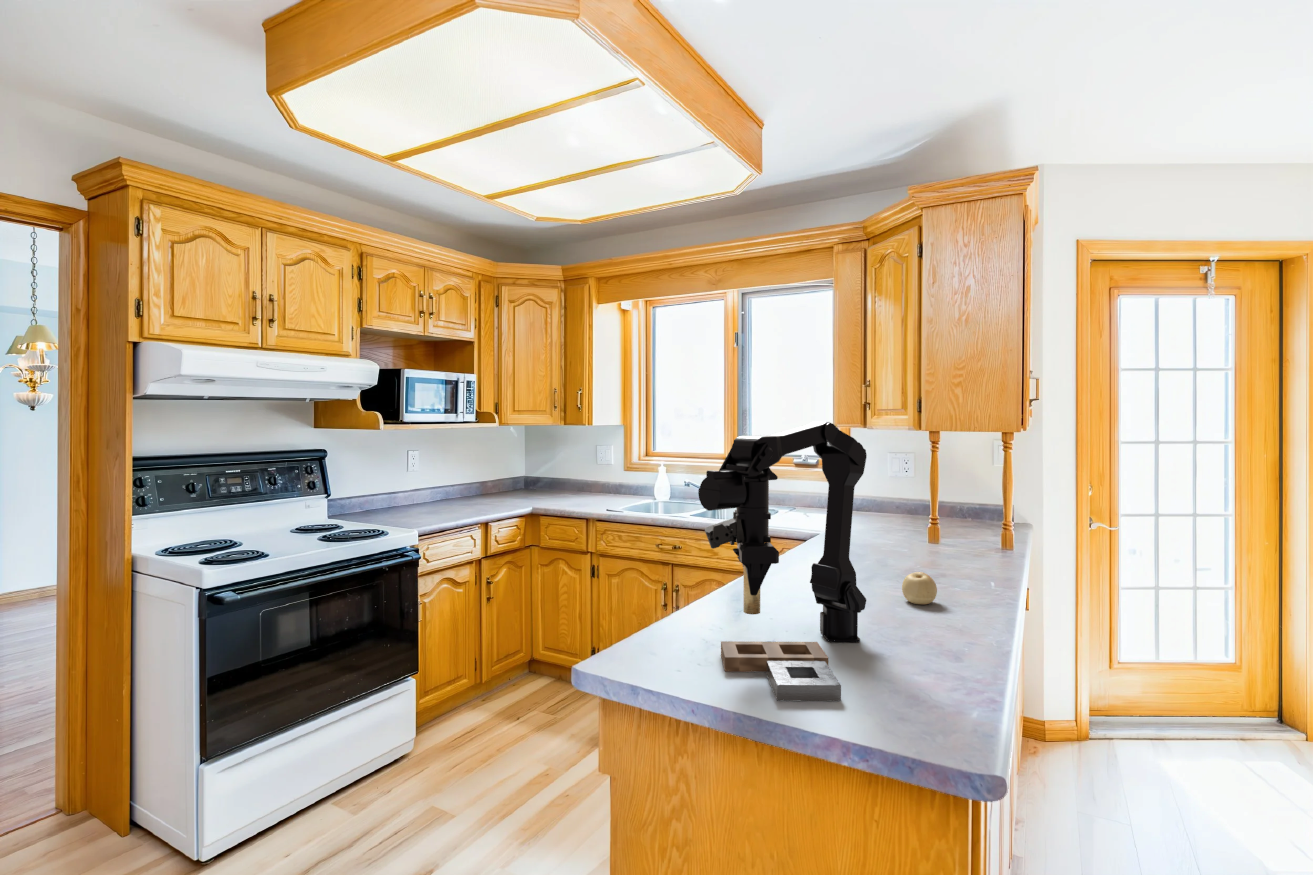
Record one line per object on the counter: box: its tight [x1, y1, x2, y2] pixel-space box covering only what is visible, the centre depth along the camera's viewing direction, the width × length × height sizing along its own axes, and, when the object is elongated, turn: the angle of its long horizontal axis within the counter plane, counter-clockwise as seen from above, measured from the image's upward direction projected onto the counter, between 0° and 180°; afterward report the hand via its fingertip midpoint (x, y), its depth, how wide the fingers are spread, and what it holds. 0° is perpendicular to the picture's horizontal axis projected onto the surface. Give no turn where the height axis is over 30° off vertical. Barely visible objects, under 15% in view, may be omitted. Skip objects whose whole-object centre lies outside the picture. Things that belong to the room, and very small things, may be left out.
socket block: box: [766, 661, 842, 702], centre depth 105 cm, size 10×10×2 cm
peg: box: [743, 566, 761, 615], centre depth 115 cm, size 3×3×9 cm
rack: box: [720, 640, 829, 673], centre depth 115 cm, size 18×8×2 cm, turn 89°
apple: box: [901, 571, 938, 605], centre depth 154 cm, size 8×8×8 cm
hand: (752, 592), depth 115 cm, fingers closed on peg, 3 cm apart
